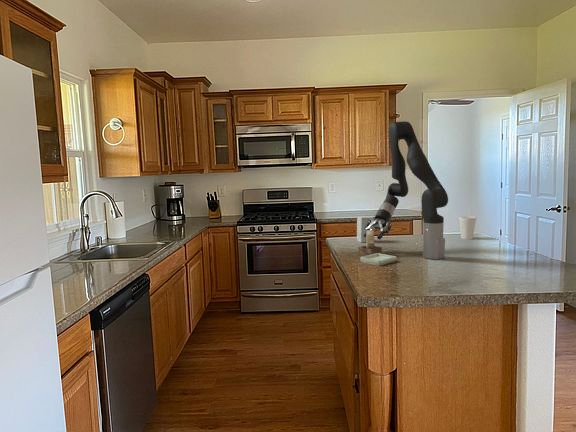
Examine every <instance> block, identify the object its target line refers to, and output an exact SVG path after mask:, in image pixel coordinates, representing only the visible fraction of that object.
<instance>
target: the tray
mask: <svg viewBox="0 0 576 432" xmlns="http://www.w3.org/2000/svg"><path fill="white" fill-rule="evenodd" d="M397 260H398V258H397V256H395V255H392V254H391V255H390V254H385V253H382V254H380V253H376V254H371V255H363V256H360V259H359V261H360V263H365V264H368V265H369V264H370V265H373V266H374V265H375V266H380V267H381V266H383V265H384V266H385V265H388V264H391V263H394V262H397Z"/></svg>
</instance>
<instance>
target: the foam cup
mask: <svg viewBox="0 0 576 432" xmlns="http://www.w3.org/2000/svg"><path fill="white" fill-rule="evenodd" d="M458 221H459V229H460V230H459V231H460V238H461V240H462V239H463V240H473V238H474V233H475V226H476V222H477V217H476V216H473V215H472V216H470V215H464V216H463V215H460V216H459V217H458Z"/></svg>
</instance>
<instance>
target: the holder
mask: <svg viewBox="0 0 576 432" xmlns="http://www.w3.org/2000/svg"><path fill="white" fill-rule="evenodd" d="M382 251H383V248H382V246H376V245H374V249H367V248H366V245H363V246H359V247H358V255H361V254H362V255H363V256H367V255H371V254H376V253H380V254H383V253H382ZM362 255H361V256H362Z"/></svg>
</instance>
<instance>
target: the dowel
mask: <svg viewBox="0 0 576 432" xmlns="http://www.w3.org/2000/svg"><path fill="white" fill-rule="evenodd" d="M365 246H366V248H367V249H374V246H375V229H374V230H367V231H366V242H365Z"/></svg>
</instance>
